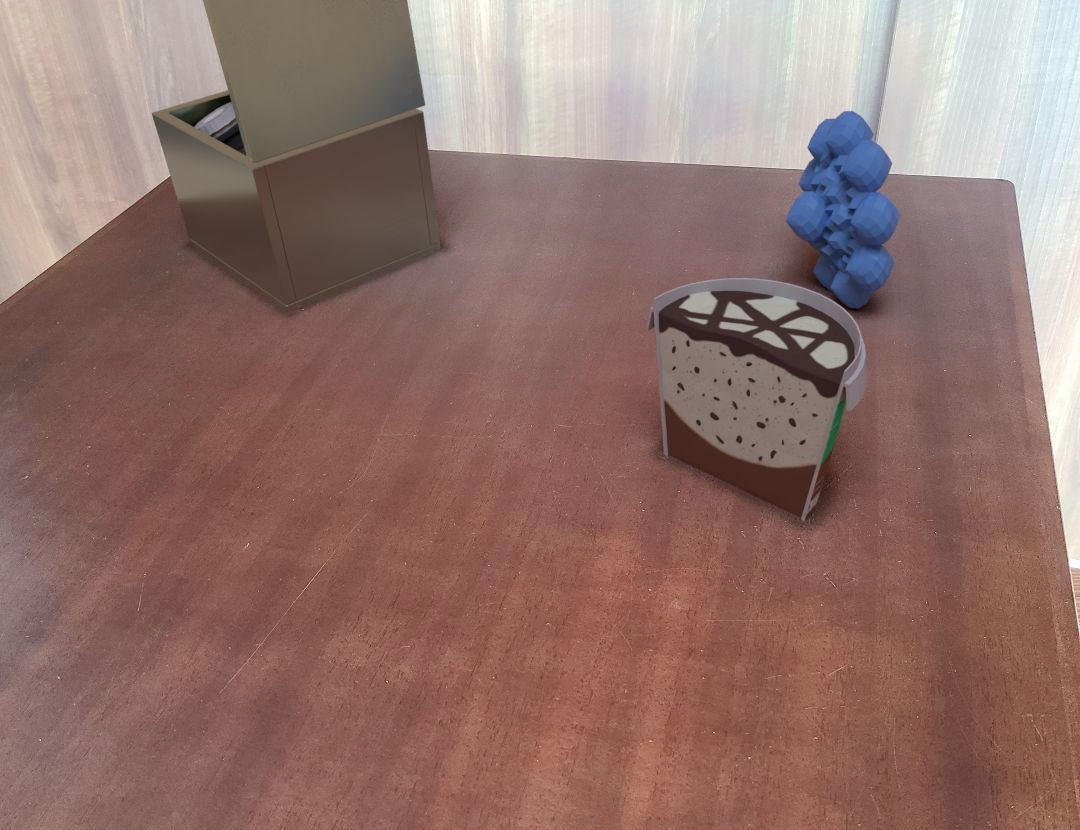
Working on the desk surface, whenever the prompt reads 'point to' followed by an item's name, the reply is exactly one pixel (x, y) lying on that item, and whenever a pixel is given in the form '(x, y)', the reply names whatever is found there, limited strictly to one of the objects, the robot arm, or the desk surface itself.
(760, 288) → the food container
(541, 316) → the desk surface
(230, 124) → the push button
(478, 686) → the desk surface
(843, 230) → the grapes
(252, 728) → the desk surface
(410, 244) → the bin
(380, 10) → the bin lid
